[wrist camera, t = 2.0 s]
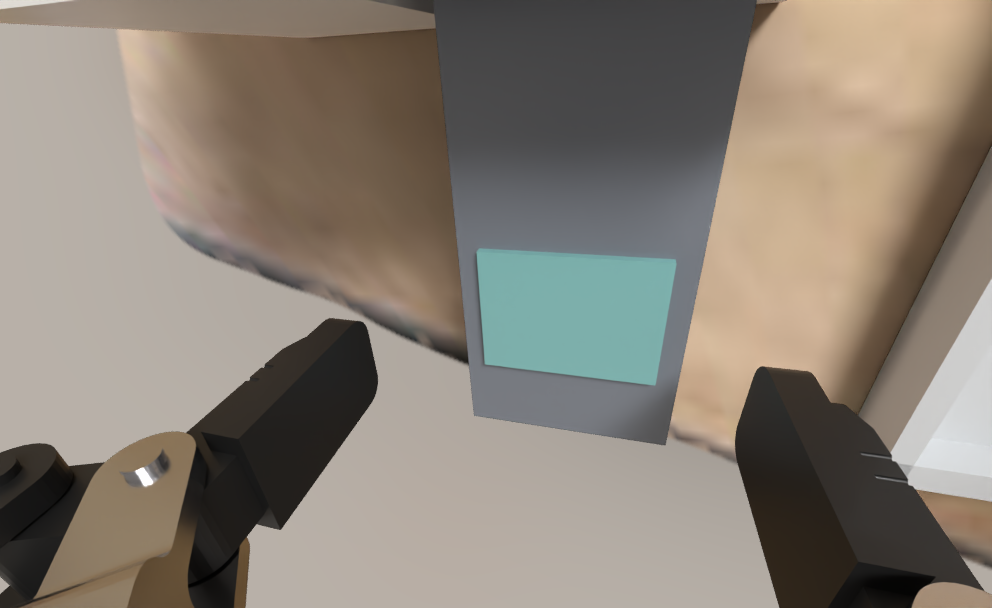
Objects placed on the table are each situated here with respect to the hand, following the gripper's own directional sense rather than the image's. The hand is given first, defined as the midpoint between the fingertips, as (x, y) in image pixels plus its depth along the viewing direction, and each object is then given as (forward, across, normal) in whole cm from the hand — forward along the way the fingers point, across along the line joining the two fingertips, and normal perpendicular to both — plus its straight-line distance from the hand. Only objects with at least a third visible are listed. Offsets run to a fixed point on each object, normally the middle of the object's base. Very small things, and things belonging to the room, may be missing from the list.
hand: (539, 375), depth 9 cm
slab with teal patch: (+7, 0, -4) cm, 8 cm away
